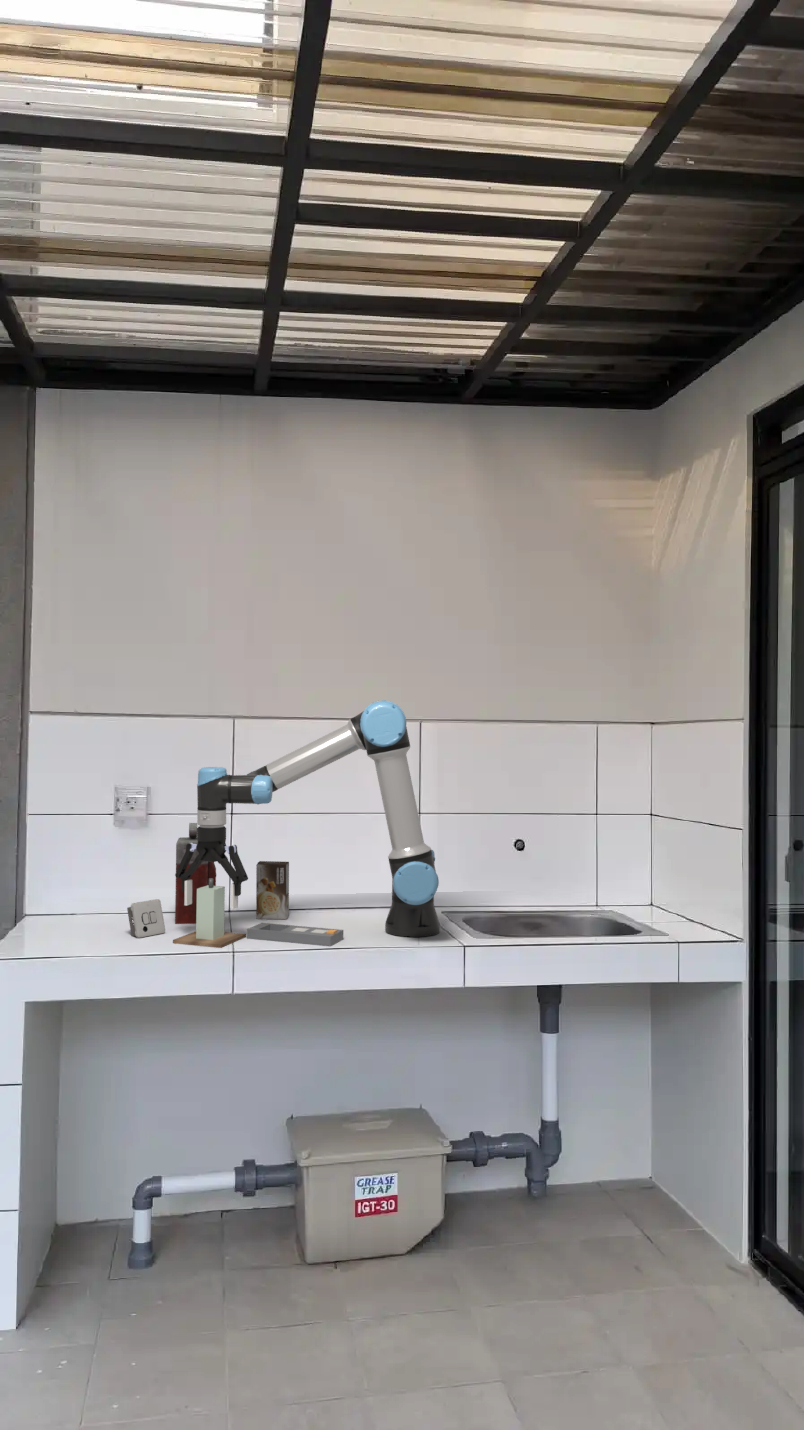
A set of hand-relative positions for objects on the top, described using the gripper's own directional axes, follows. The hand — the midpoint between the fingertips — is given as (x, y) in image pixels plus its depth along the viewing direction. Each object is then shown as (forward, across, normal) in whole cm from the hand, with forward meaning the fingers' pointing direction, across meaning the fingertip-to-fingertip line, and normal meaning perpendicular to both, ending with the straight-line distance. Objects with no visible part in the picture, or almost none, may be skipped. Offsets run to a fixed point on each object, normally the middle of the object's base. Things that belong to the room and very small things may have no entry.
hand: (211, 906), depth 288 cm
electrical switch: (+9, -19, -1) cm, 21 cm away
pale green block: (+8, 0, 0) cm, 8 cm away
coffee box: (+9, +2, +34) cm, 35 cm away
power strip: (+9, +20, +10) cm, 24 cm away
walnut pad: (+9, 0, 0) cm, 9 cm away
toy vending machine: (+9, -16, +21) cm, 28 cm away
